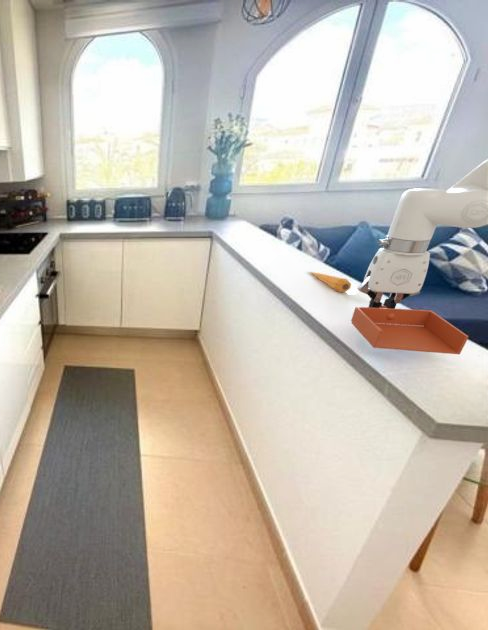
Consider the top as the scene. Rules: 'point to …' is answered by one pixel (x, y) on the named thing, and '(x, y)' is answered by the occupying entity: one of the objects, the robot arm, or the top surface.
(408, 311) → the dustpan
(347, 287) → the carrot
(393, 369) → the top surface
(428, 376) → the top surface
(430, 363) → the top surface
